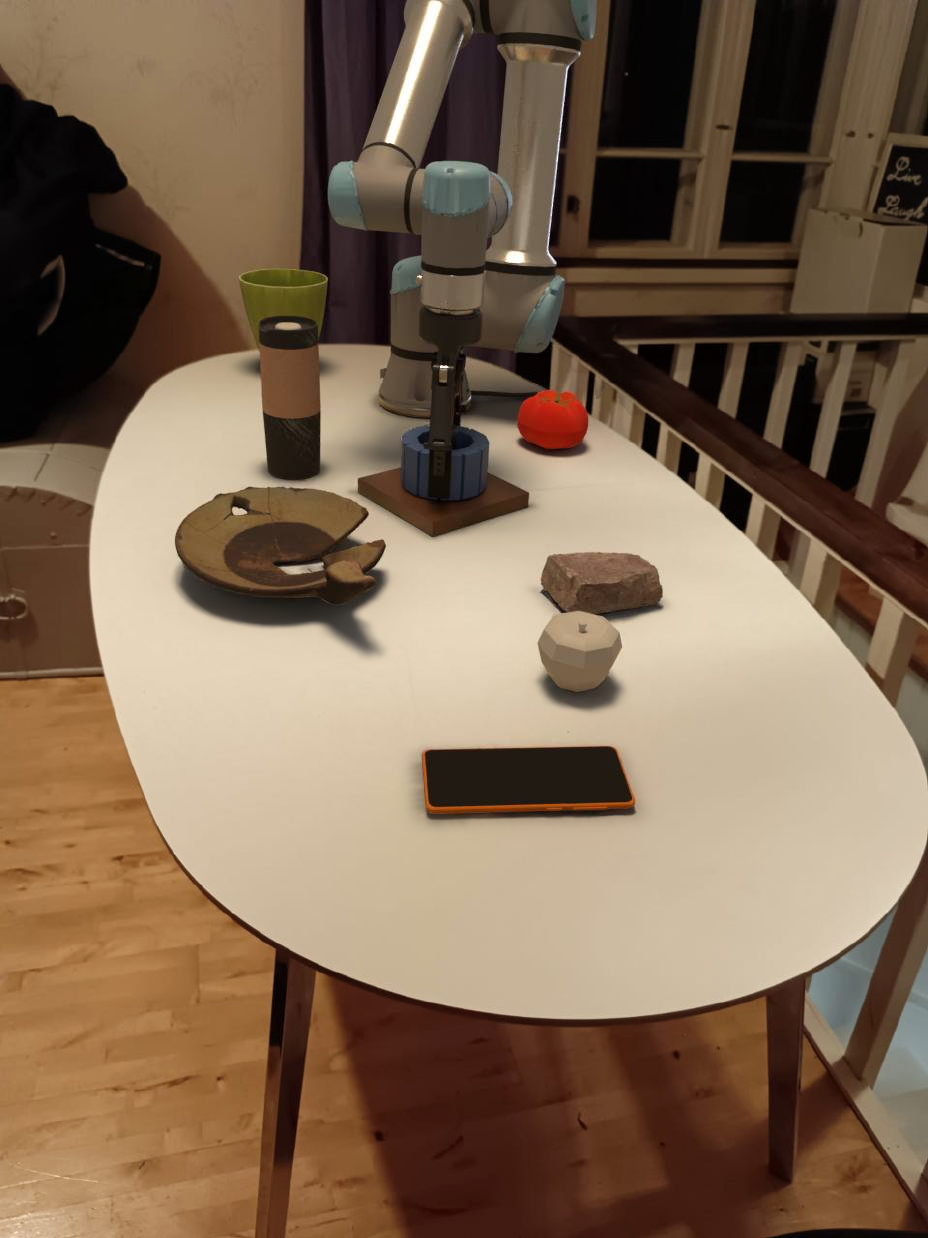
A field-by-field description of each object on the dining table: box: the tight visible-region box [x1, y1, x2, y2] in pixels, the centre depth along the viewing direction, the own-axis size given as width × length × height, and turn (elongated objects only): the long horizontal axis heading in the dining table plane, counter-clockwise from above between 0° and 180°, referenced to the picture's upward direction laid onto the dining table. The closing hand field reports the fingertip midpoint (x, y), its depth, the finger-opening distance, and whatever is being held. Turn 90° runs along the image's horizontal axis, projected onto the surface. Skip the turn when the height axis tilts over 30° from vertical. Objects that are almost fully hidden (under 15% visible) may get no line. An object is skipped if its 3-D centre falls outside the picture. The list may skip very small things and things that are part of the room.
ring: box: [400, 424, 490, 501], centre depth 123 cm, size 11×11×6 cm
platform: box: [357, 424, 530, 537], centre depth 123 cm, size 16×16×10 cm
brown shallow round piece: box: [174, 486, 387, 606], centre depth 103 cm, size 22×30×8 cm
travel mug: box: [258, 315, 322, 481], centre depth 126 cm, size 8×8×20 cm
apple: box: [537, 611, 623, 693], centre depth 89 cm, size 8×8×7 cm
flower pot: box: [238, 268, 329, 353], centre depth 166 cm, size 15×15×16 cm
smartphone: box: [421, 745, 636, 815], centre depth 78 cm, size 8×17×1 cm, turn 95°
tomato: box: [516, 389, 589, 451], centre depth 144 cm, size 11×11×8 cm
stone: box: [540, 551, 664, 615], centre depth 104 cm, size 12×9×5 cm
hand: (443, 478), depth 124 cm, fingers closed on ring, 11 cm apart
